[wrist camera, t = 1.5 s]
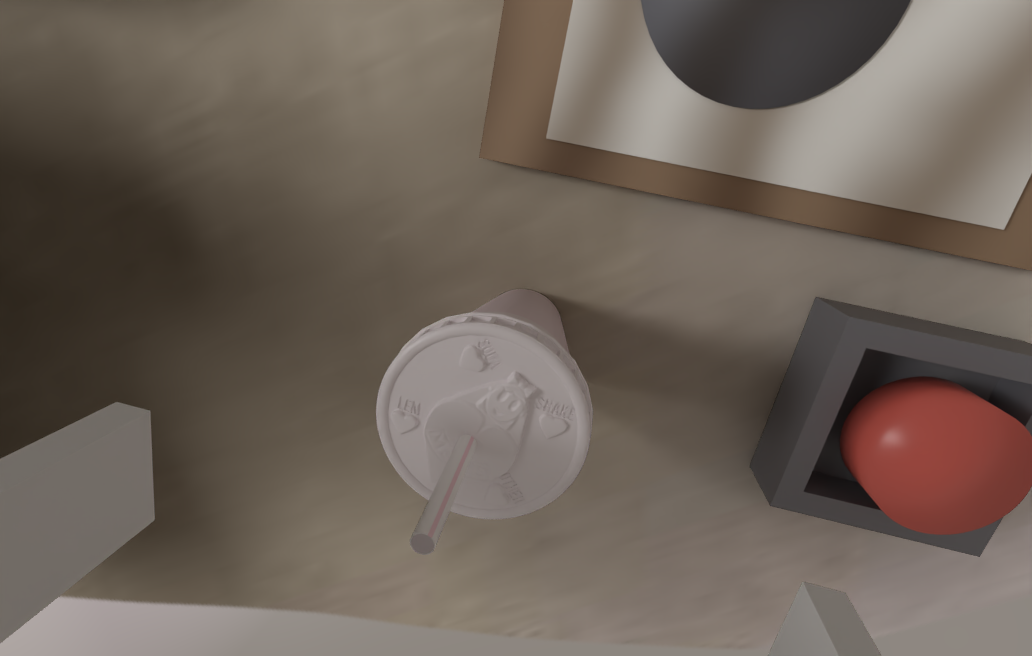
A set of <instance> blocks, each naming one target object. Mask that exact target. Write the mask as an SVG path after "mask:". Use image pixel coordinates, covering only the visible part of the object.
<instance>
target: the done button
mask: <svg viewBox="0 0 1032 656" xmlns="http://www.w3.org/2000/svg"><path fill="white" fill-rule="evenodd" d="M840 452H841V456H842V459H843V461H844V464H845V466H846V467H847V469H848V470H849V472H850V473H851V474H852V475H853V477H854V478H855V479H856V480H857V481H858V482H859V484H860V485H861V486H862V487H863V488H864V490H865V491H866V492H867V493H868V494H869V496H870V497H871V498H872V499H873V500H874V502H875V503H876V504H877V505H878V506H879V508H880V509H881V510H882V511H883V512H884V513H885V514H886V515H887V516H888V517H889V518H891V519H892V520H893V521H895V522H896V523H898V524H900V525H901V526H904V527H906V528H908V529H911V530H914V531H917V532H922V533H927V534H937V535H950V534H959V533H964V532H969V531H973V530H976V529H979V528H982V527H984V526H987V525H989V524H991V523H993V522H995V521H997V520H999V519H1001V518H1002V517H1004V516H1005V515H1006V514H1008V513H1009V512H1010V511H1012V510H1013V509H1014V508H1015V507H1016V506H1017V505H1018V504H1019V503H1020V502H1021V501H1022V500H1023V499H1024V497H1025V496H1026V495H1027V493H1028V492H1029V490H1030V488H1031V486H1032V436H1031V434H1030V433H1029V431H1028V430H1027V429H1026V428H1025V426H1024V425H1023V424H1022V423H1020V422H1019V421H1018V420H1017V419H1016V418H1014V417H1012V416H1011V415H1009V414H1007V413H1006V412H1004V411H1002V410H1001V409H999V408H997V407H996V406H994V405H992V404H991V403H989V402H987V401H986V400H984V399H982V398H981V397H979V396H977V395H976V394H974V393H972V392H971V391H969V390H967V389H966V388H964V387H962V386H961V385H959V384H957V383H954V382H952V381H949V380H946V379H942V378H937V377H927V376H919V377H909V378H903V379H899V380H896V381H892V382H890V383H887V384H885V385H883V386H881V387H879V388H877V389H875V390H873V391H872V392H870V393H869V394H868V395H866V396H865V397H864V398H863V399H861V400H860V401H859V402H858V403H857V404H856V406H855V407H854V408H853V409H852V410H851V412H850V413H849V415H848V416H847V418H846V420H845V422H844V425H843V427H842V430H841V435H840Z"/></svg>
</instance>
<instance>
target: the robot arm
mask: <svg viewBox="0 0 1032 656" xmlns="http://www.w3.org/2000/svg"><path fill="white" fill-rule="evenodd" d="M154 520H155V512H154V487H153V463H152V438H151V413H150V410H146V409H142V408H138V407H134V406H131V405H127V404H123V403H119V402H115V403H113V404H111V405H109V406H107V407H105V408H103V409H101V410H99V411H97V412H95V413H93V414H91V415H89V416H87V417H84V418H82V419H80V420H78V421H76V422H74V423H72V424H70V425H68V426H66V427H64V428H62V429H60V430H58V431H56V432H54V433H52V434H50V435H48V436H46V437H44V438H42V439H40V440H38V441H35V442H33V443H31V444H29V445H27V446H25V447H23V448H21V449H19V450H17V451H15V452H13V453H11V454H9V455H7V456H5V457H3V458H1V459H0V643H1V642H3V641H4V640H5V639H6V638H7V637H9V636H10V635H11V634H13V633H14V632H15V631H16V630H18V629H19V628H20V627H21V626H23V625H24V624H25V623H26V622H27V621H29V620H30V619H31V618H33V617H34V616H35V615H36V614H38V613H39V612H40V611H41V610H43V609H44V608H45V607H46V606H48V605H49V604H50V603H51V602H53V601H54V600H55V599H56V598H58V597H59V596H60V595H61V594H63V593H64V592H65V591H66V590H68V589H69V588H70V587H72V586H73V585H74V584H75V583H77V582H78V581H79V580H80V579H82V578H83V577H84V576H85V575H87V574H88V573H89V572H90V571H92V570H93V569H94V568H95V567H97V566H98V565H99V564H100V563H102V562H103V561H104V560H105V559H107V558H108V557H109V556H110V555H112V554H113V553H114V552H115V551H117V550H118V549H119V548H120V547H122V546H123V545H124V544H125V543H127V542H128V541H129V540H130V539H132V538H133V537H134V536H135V535H137V534H138V533H139V532H140V531H142V530H143V529H144V528H145V527H147V526H148V525H149V524H150V523H152V522H153V521H154ZM768 656H881V654H880V652H879V651H878V649H877V647H876V645H875V643H874V642H873V640H872V638H871V636H870V635H869V633H868V631H867V630H866V628H865V626H864V624H863V623H862V621H861V619H860V617H859V616H858V614H857V612H856V610H855V609H854V607H853V605H852V603H851V602H850V600H849V598H848V597H847V595H846V593H844V592H841V591H837V590H833V589H829V588H825V587H821V586H818V585H814V584H810V583H806V582H802V584H801V586H800V588H799V590H798V592H797V595H796V597H795V599H794V601H793V603H792V605H791V607H790V609H789V612H788V614H787V616H786V618H785V620H784V622H783V624H782V627H781V629H780V631H779V633H778V635H777V637H776V639H775V641H774V644H773V646H772V648H771V650H770V652H769V654H768Z"/></svg>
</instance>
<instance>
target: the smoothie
mask: <svg viewBox="0 0 1032 656" xmlns="http://www.w3.org/2000/svg"><path fill="white" fill-rule="evenodd" d="M592 420H593V407H592V403H591V398H590V393H589V388H588V384H587V382H586V380H585V379H584V377H583V375H582V373H581V371H580V369H579V367H578V365H577V363H576V361H575V360H574V359H573V358H572V357H571V355H570V354H569V350H568V345H567V341H566V337H565V333H564V329H563V325H562V321H561V317H560V314H559V312H558V310H557V308H556V307H555V306H554V304H553V303H552V302H551V301H550V300H549V299H548V298H547V297H545V296H544V295H542V294H540V293H538V292H536V291H532V290H528V289H514V290H510V291H507V292H505V293H503V294H501V295H499V296H497V297H496V298H494V299H492V300H491V301H489V302H487V303H486V304H484V305H482V306H480V307H479V308H477V309H475V310H474V311H472V312H470V313H465V314H459V315H454V316H449V317H445V318H443V319H441V320H439V321H437V322H435V323H433V324H431V325H429V326H427V327H425V328H423V329H421V330H420V331H419V332H418V333H417V334H416V335H415V336H414V337H413V338H412V339H411V340H409V341H408V342H407V343H406V344H405V345H404V346H403V347H402V349H401V351H400V352H399V354H398V355H397V356H396V357H395V359H394V360H393V361H392V363H391V364H390V366H389V367H388V369H387V371H386V373H385V375H384V377H383V379H382V382H381V385H380V388H379V391H378V397H377V404H376V421H377V428H378V432H379V437H380V440H381V443H382V446H383V448H384V451H385V453H386V455H387V457H388V459H389V460H390V462H391V464H392V465H393V467H394V468H395V470H396V471H397V473H398V474H399V475H400V476H401V477H402V479H403V480H404V481H405V482H406V483H407V484H408V485H409V486H410V487H411V488H412V489H414V490H415V491H416V492H417V493H418V494H420V495H421V496H423V497H424V498H425V499H427V500H428V503H427V505H426V508H425V510H424V512H423V514H422V516H421V518H420V520H419V522H418V524H417V526H416V528H415V530H414V532H413V534H412V537H411V539H410V545H411V547H412V549H413V550H414V551H415V552H417V553H419V554H422V555H427V554H430V553H432V552H433V551H434V549H435V547H436V544H437V542H438V539H439V537H440V534H441V532H442V529H443V527H444V524H445V522H446V520H447V517H448V515H449V512H450V511H451V512H453V513H456V514H460V515H463V516H467V517H472V518H479V519H507V518H514V517H518V516H523V515H526V514H529V513H532V512H534V511H537V510H539V509H541V508H543V507H545V506H546V505H548V504H550V503H551V502H553V501H554V500H556V499H557V498H558V497H559V496H560V495H562V494H563V493H564V492H565V491H566V490H567V489H568V488H569V487H570V485H571V484H572V483H573V482H574V480H575V479H576V477H577V476H578V474H579V472H580V471H581V469H582V466H583V464H584V462H585V459H586V456H587V453H588V449H589V444H590V438H591V431H592Z"/></svg>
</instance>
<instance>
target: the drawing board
mask: <svg viewBox="0 0 1032 656" xmlns="http://www.w3.org/2000/svg"><path fill="white" fill-rule="evenodd" d="M479 158H483V159H488V160H493V161H498V162H503V163H508V164H513V165H518V166H523V167H527V168H532V169H537V170H542V171H547V172H552V173H557V174H562V175H567V176H571V177H576V178H581V179H586V180H591V181H596V182H601V183H606V184H611V185H615V186H620V187H625V188H630V189H635V190H640V191H645V192H650V193H655V194H659V195H664V196H669V197H674V198H679V199H684V200H689V201H694V202H699V203H703V204H708V205H713V206H718V207H723V208H728V209H733V210H738V211H743V212H747V213H752V214H757V215H762V216H767V217H772V218H777V219H782V220H787V221H791V222H796V223H801V224H806V225H811V226H816V227H821V228H826V229H831V230H835V231H840V232H845V233H850V234H855V235H860V236H865V237H870V238H875V239H879V240H884V241H889V242H894V243H899V244H904V245H909V246H914V247H919V248H923V249H928V250H933V251H938V252H943V253H948V254H953V255H958V256H963V257H967V258H972V259H977V260H982V261H987V262H992V263H997V264H1002V265H1007V266H1011V267H1016V268H1021V269H1026V270H1031V271H1032V0H504V6H503V12H502V18H501V24H500V31H499V37H498V43H497V49H496V56H495V62H494V68H493V74H492V81H491V87H490V93H489V99H488V106H487V112H486V118H485V124H484V131H483V137H482V143H481V149H480V156H479Z"/></svg>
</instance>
